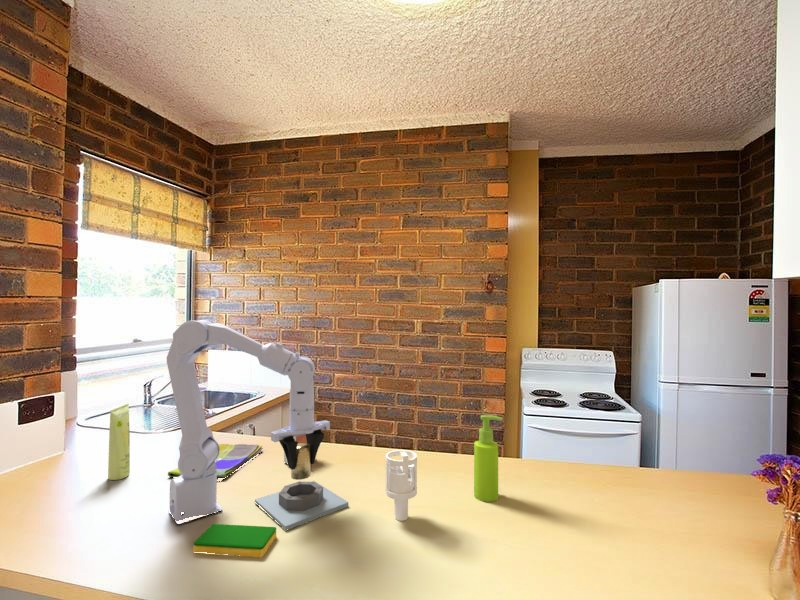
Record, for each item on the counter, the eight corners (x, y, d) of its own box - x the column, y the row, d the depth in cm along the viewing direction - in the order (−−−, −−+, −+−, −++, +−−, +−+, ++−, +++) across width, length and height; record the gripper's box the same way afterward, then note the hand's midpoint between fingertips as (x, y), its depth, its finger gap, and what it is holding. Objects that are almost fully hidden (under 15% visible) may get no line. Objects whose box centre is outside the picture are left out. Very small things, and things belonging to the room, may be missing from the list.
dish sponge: (212, 534, 85) (212, 523, 85) (276, 538, 84) (277, 526, 84) (192, 555, 78) (192, 542, 78) (262, 559, 77) (262, 546, 77)
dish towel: (163, 480, 112) (164, 470, 112) (215, 449, 136) (215, 441, 136) (223, 484, 110) (223, 474, 110) (265, 452, 134) (265, 443, 134)
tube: (132, 477, 112) (132, 406, 113) (109, 483, 109) (110, 409, 109) (127, 471, 117) (128, 403, 117) (106, 476, 113) (107, 405, 113)
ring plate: (285, 531, 86) (285, 514, 86) (254, 503, 98) (254, 488, 98) (348, 506, 97) (348, 491, 97) (313, 484, 108) (313, 471, 109)
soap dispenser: (503, 503, 98) (503, 420, 99) (474, 500, 100) (473, 418, 100) (502, 492, 104) (501, 413, 104) (474, 490, 105) (474, 412, 106)
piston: (297, 481, 94) (296, 450, 95) (287, 475, 98) (287, 446, 98) (314, 475, 97) (313, 446, 98) (304, 470, 101) (304, 442, 101)
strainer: (389, 527, 87) (389, 457, 88) (382, 511, 94) (382, 446, 94) (421, 523, 89) (421, 454, 89) (411, 507, 96) (411, 443, 96)
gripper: (280, 416, 90) (280, 479, 90) (336, 406, 99) (336, 462, 99) (267, 410, 95) (266, 469, 95) (321, 401, 105) (321, 454, 104)
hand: (301, 465), depth 97 cm, fingers closed on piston, 4 cm apart
